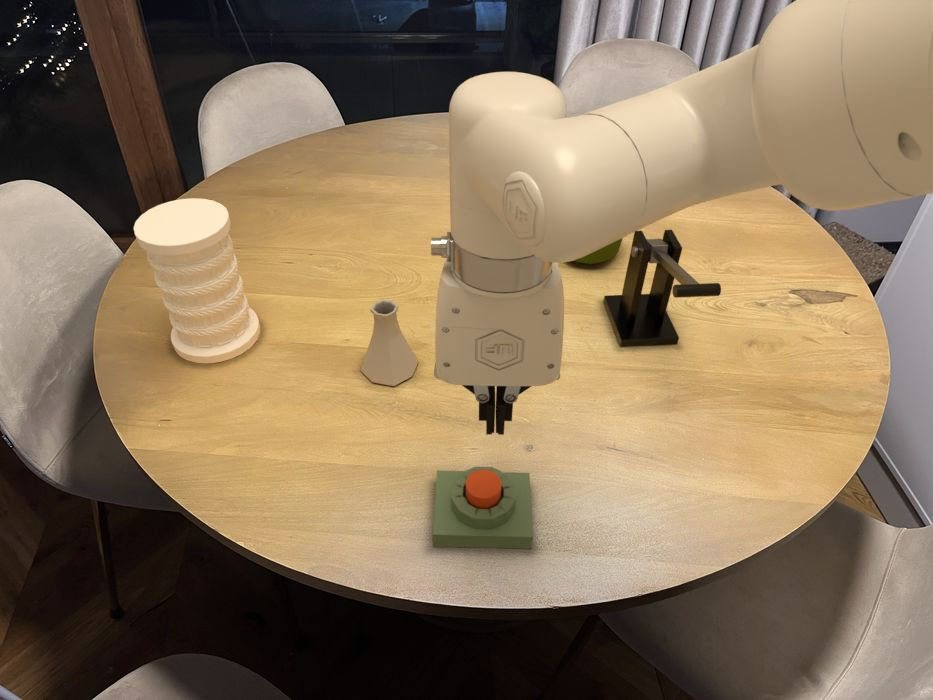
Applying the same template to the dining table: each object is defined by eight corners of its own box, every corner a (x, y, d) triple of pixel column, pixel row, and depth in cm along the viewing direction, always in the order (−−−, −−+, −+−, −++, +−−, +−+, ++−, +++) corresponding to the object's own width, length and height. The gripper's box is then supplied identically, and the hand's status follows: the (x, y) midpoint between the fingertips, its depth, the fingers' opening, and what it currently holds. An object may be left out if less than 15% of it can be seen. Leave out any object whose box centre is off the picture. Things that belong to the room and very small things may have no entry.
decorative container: (220, 374, 87) (182, 257, 75) (154, 347, 91) (108, 231, 79) (277, 323, 95) (251, 210, 83) (214, 300, 99) (180, 188, 87)
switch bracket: (677, 344, 92) (701, 260, 83) (619, 346, 92) (638, 262, 83) (656, 299, 100) (676, 217, 91) (603, 301, 99) (618, 219, 90)
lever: (719, 301, 75) (722, 281, 74) (675, 303, 75) (678, 283, 74) (669, 255, 90) (671, 238, 89) (632, 257, 89) (634, 239, 88)
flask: (428, 361, 89) (426, 301, 83) (395, 394, 85) (390, 333, 78) (384, 342, 92) (379, 282, 85) (350, 373, 87) (341, 312, 81)
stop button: (500, 480, 70) (501, 469, 69) (501, 509, 68) (501, 498, 67) (466, 479, 70) (466, 468, 69) (465, 508, 68) (465, 497, 67)
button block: (527, 485, 74) (530, 461, 72) (531, 549, 68) (534, 526, 66) (437, 482, 75) (436, 459, 72) (432, 546, 69) (431, 524, 66)
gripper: (395, 281, 47) (409, 453, 59) (610, 284, 47) (581, 456, 59) (405, 225, 53) (416, 393, 65) (597, 227, 53) (572, 395, 65)
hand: (494, 422), depth 62 cm, fingers closed
